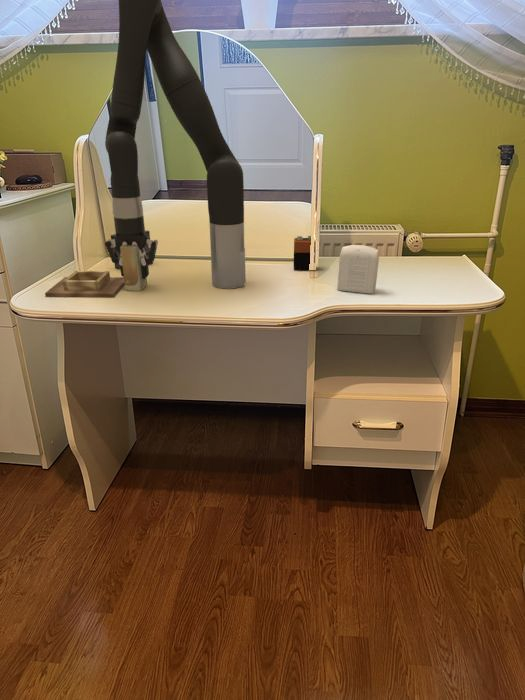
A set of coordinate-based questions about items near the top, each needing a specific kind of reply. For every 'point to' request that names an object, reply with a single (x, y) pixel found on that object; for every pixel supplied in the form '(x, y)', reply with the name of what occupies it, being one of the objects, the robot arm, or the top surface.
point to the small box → (117, 248)
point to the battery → (302, 253)
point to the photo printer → (358, 269)
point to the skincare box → (132, 268)
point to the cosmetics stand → (87, 285)
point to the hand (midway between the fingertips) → (135, 277)
